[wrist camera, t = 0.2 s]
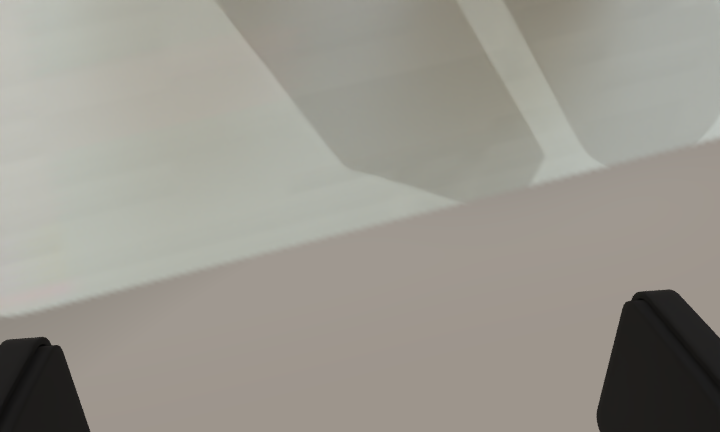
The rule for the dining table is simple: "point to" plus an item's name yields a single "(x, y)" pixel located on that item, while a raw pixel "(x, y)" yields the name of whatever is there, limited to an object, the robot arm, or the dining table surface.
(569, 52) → the dining table surface
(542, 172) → the dining table surface
